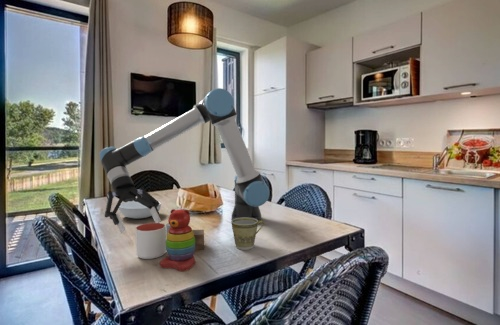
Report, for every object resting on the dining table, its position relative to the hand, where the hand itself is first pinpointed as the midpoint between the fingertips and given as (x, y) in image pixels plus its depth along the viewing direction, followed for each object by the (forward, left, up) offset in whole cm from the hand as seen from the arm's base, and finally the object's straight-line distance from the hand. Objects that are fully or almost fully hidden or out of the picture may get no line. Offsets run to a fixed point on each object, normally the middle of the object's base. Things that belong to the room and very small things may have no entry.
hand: (141, 227), depth 105 cm
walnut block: (-17, -8, -9) cm, 21 cm away
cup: (-4, +1, -9) cm, 11 cm away
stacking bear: (-17, +6, -9) cm, 21 cm away
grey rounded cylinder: (-6, -13, -9) cm, 17 cm away
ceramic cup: (-36, -13, -9) cm, 40 cm away
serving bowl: (+28, -45, -10) cm, 53 cm away
